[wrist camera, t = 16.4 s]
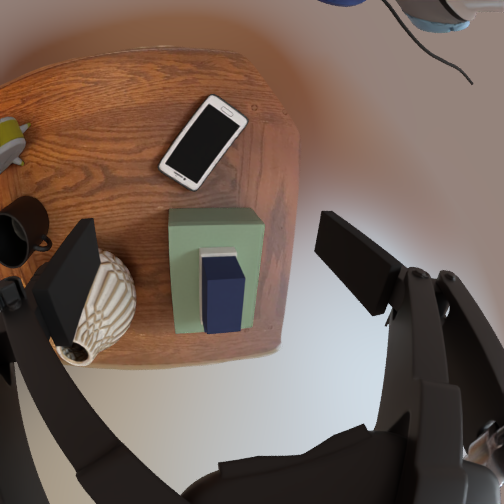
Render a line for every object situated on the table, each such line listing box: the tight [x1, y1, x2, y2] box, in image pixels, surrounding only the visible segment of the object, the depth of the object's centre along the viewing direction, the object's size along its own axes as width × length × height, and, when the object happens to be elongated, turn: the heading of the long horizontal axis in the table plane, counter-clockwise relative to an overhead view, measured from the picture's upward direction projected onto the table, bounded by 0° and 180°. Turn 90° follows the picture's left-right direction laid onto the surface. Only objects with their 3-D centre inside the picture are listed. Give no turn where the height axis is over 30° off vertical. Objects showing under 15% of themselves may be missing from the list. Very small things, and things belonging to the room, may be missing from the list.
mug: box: [0, 196, 52, 268], centre depth 33 cm, size 9×12×9 cm
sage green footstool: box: [168, 208, 265, 334], centre depth 46 cm, size 14×20×8 cm
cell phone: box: [158, 94, 249, 192], centre depth 40 cm, size 8×15×1 cm, turn 141°
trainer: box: [199, 247, 246, 334], centre depth 40 cm, size 13×5×8 cm, turn 174°
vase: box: [56, 248, 136, 366], centre depth 36 cm, size 16×16×20 cm
